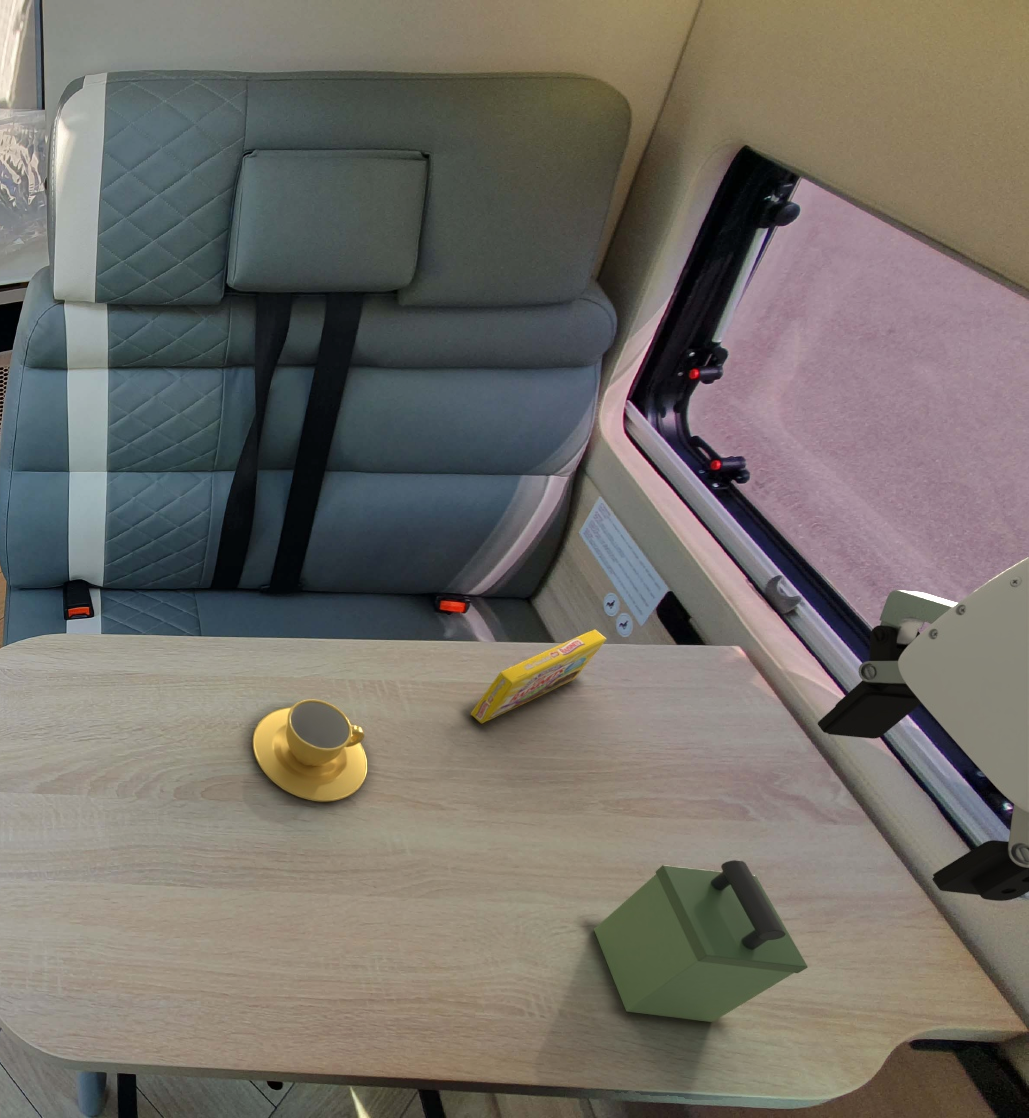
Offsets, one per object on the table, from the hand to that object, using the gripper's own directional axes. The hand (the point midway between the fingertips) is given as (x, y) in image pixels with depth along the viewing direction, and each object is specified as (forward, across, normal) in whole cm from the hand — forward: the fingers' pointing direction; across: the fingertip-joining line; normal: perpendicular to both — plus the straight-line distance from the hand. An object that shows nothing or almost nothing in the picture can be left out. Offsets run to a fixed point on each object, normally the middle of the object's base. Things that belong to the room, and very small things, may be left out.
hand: (900, 803), depth 45 cm
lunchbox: (+34, +4, -6) cm, 35 cm away
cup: (+34, +24, +21) cm, 47 cm away
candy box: (+34, +35, -5) cm, 49 cm away
